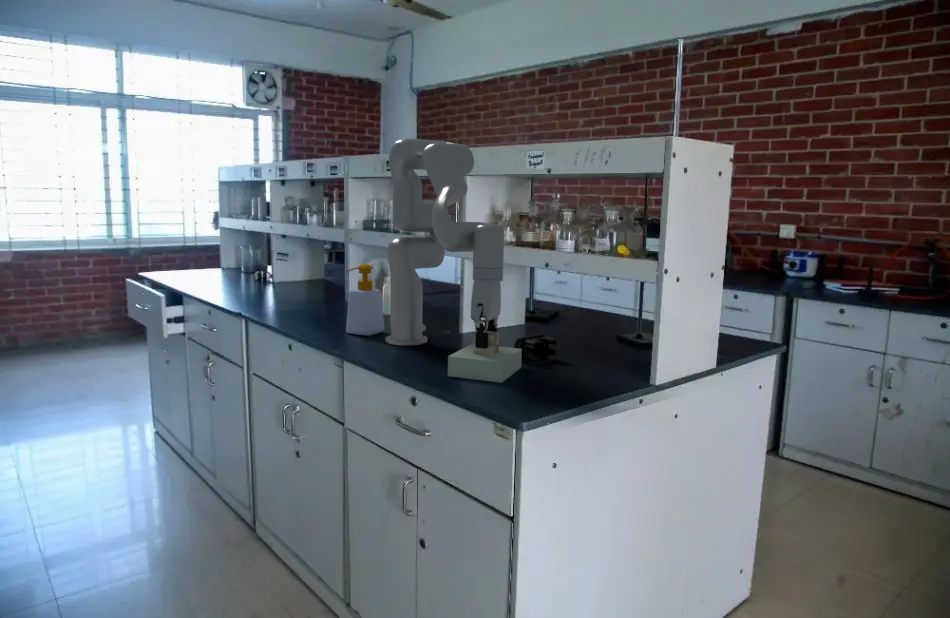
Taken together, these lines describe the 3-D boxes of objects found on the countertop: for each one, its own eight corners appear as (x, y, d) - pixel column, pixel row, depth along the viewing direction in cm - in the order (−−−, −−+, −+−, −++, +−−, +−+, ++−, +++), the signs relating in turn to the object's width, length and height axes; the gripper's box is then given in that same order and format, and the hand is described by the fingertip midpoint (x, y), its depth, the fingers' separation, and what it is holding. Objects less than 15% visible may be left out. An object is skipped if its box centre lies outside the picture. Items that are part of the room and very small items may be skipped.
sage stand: (471, 361, 180) (471, 343, 179) (521, 367, 175) (521, 348, 174) (447, 376, 165) (448, 356, 164) (501, 382, 160) (502, 362, 160)
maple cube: (480, 349, 173) (480, 330, 172) (498, 351, 171) (498, 332, 170) (473, 353, 168) (473, 334, 167) (492, 355, 166) (492, 335, 165)
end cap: (539, 355, 190) (540, 331, 189) (557, 360, 185) (558, 336, 183) (513, 360, 184) (514, 335, 183) (531, 365, 178) (532, 340, 177)
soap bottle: (335, 336, 209) (334, 265, 206) (362, 329, 222) (362, 262, 218) (359, 339, 205) (359, 267, 201) (386, 332, 217) (386, 263, 214)
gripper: (485, 270, 175) (483, 337, 178) (460, 276, 160) (459, 350, 163) (512, 271, 173) (510, 340, 176) (490, 278, 157) (488, 354, 160)
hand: (486, 344), depth 169 cm, fingers open, 5 cm apart
